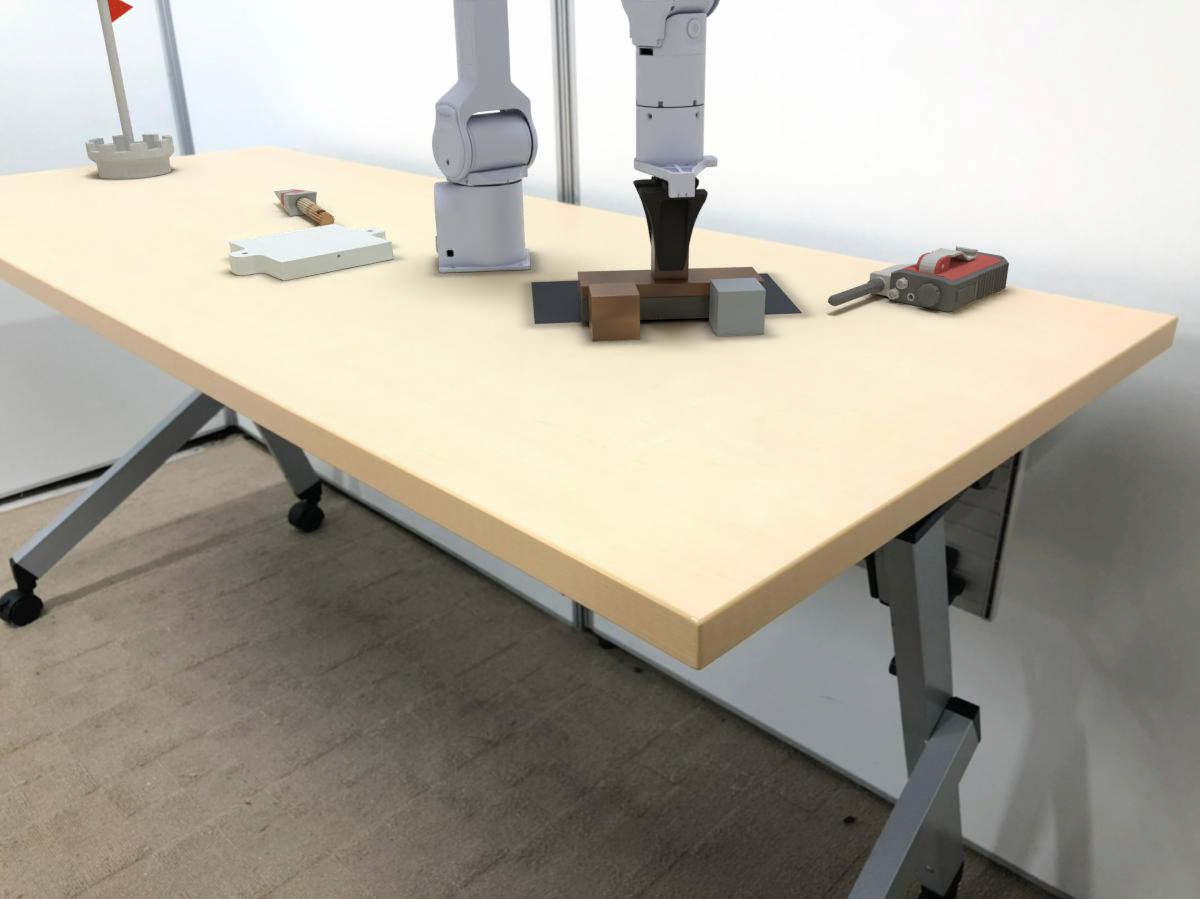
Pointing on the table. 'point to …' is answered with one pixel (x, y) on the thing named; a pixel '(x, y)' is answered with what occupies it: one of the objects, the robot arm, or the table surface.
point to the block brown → (614, 311)
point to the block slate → (737, 306)
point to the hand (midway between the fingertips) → (668, 265)
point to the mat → (562, 307)
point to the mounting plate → (309, 251)
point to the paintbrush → (304, 205)
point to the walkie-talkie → (936, 280)
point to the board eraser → (664, 288)
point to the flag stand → (125, 120)
